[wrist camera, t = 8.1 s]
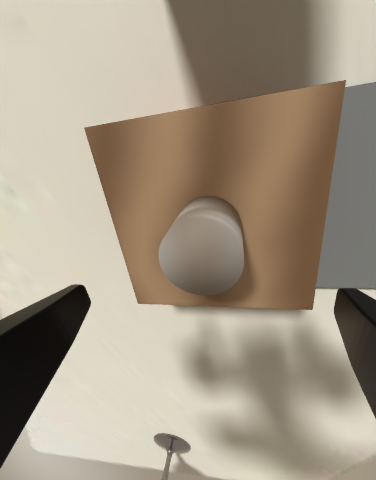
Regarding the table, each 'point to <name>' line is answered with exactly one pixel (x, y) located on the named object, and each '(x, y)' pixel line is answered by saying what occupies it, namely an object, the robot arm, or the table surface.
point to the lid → (223, 197)
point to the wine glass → (170, 448)
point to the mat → (352, 197)
